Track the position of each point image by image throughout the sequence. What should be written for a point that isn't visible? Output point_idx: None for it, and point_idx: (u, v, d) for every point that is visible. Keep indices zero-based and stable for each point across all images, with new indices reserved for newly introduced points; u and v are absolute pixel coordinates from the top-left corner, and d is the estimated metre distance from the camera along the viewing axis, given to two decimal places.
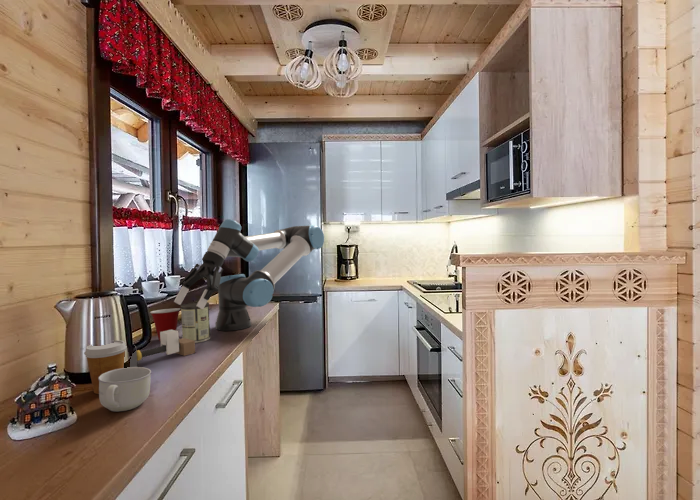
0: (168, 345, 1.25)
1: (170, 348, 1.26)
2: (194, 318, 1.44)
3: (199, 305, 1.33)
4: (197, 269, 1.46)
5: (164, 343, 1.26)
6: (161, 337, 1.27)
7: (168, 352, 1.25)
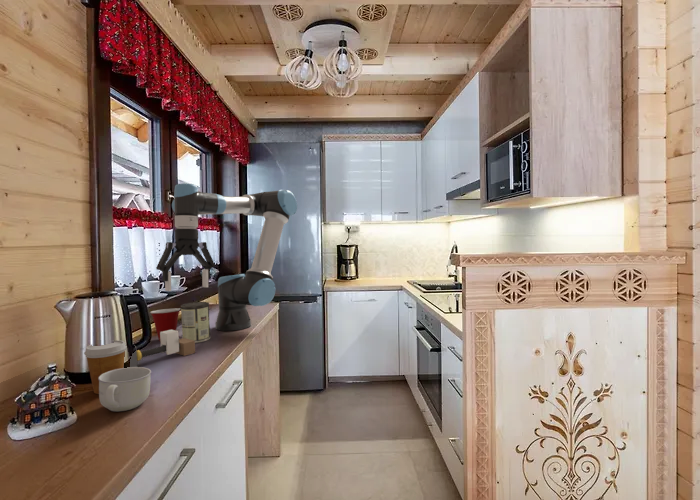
0: (168, 345, 1.25)
1: (170, 348, 1.26)
2: (194, 318, 1.44)
3: None
4: (172, 248, 1.29)
5: (164, 343, 1.26)
6: (161, 337, 1.27)
7: (168, 352, 1.25)
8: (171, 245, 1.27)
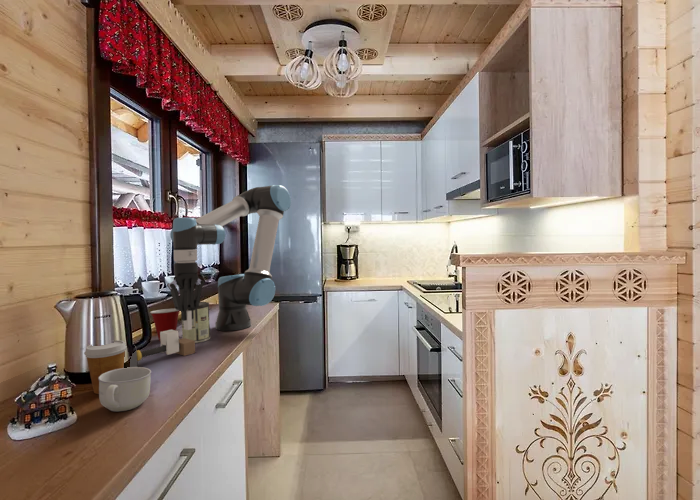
0: (168, 345, 1.25)
1: (170, 348, 1.26)
2: (194, 318, 1.44)
3: None
4: None
5: (164, 343, 1.26)
6: (161, 337, 1.27)
7: (168, 352, 1.25)
8: (173, 286, 1.28)
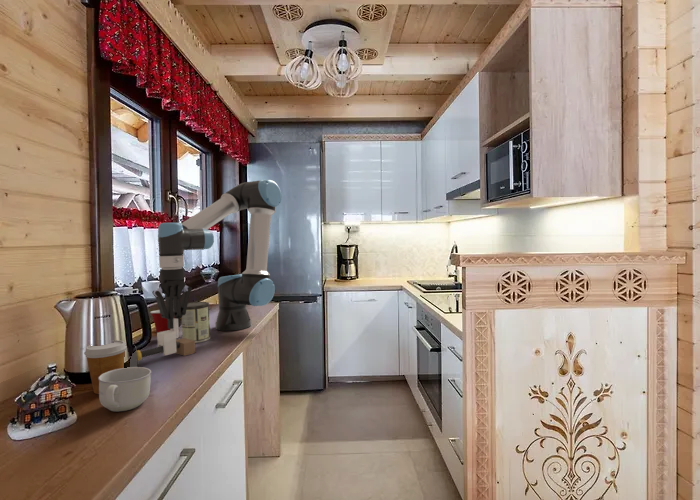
0: (165, 345, 1.24)
1: (167, 349, 1.25)
2: (194, 318, 1.44)
3: None
4: (161, 293, 1.25)
5: (161, 344, 1.25)
6: (158, 338, 1.26)
7: (165, 353, 1.24)
8: (159, 293, 1.24)
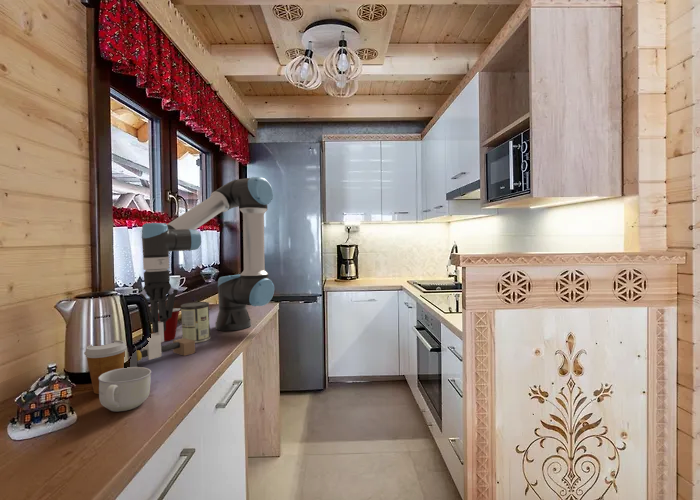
0: (149, 349, 1.20)
1: (152, 353, 1.21)
2: (194, 318, 1.44)
3: None
4: (145, 296, 1.21)
5: (145, 348, 1.21)
6: None
7: (149, 357, 1.20)
8: (143, 296, 1.19)
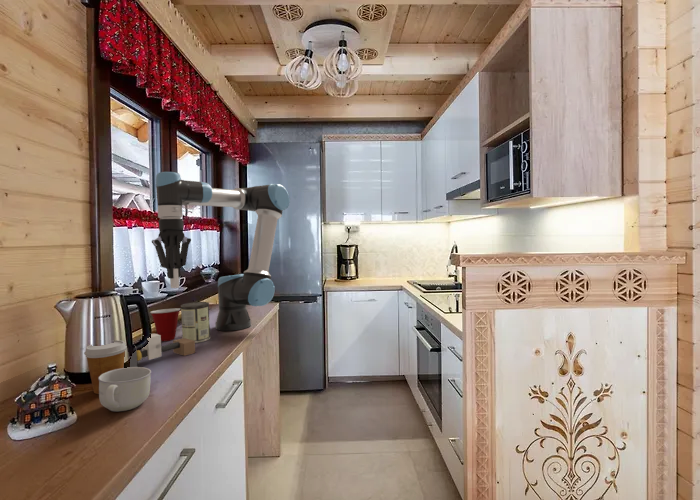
0: (149, 349, 1.20)
1: (152, 353, 1.21)
2: (194, 318, 1.44)
3: None
4: None
5: (145, 348, 1.21)
6: None
7: (149, 357, 1.20)
8: (158, 242, 1.24)
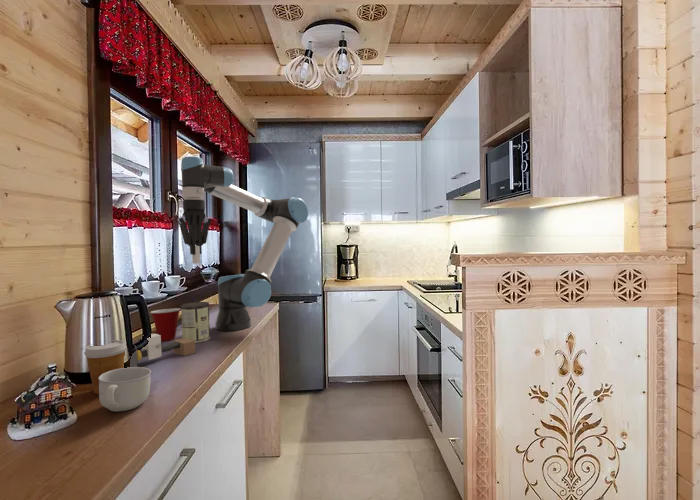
0: (149, 349, 1.20)
1: (152, 353, 1.21)
2: (194, 318, 1.44)
3: None
4: (184, 221, 1.37)
5: (145, 348, 1.21)
6: None
7: (149, 357, 1.20)
8: (183, 220, 1.35)
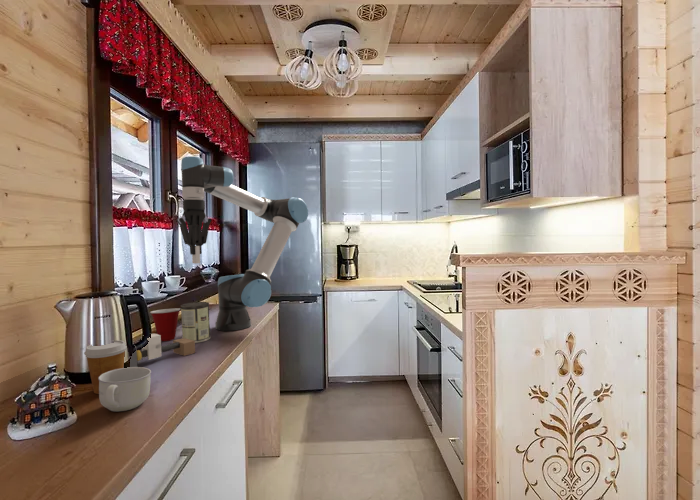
0: (149, 349, 1.20)
1: (152, 353, 1.21)
2: (194, 318, 1.44)
3: None
4: (184, 221, 1.37)
5: (145, 348, 1.21)
6: None
7: (149, 357, 1.20)
8: (183, 220, 1.35)
